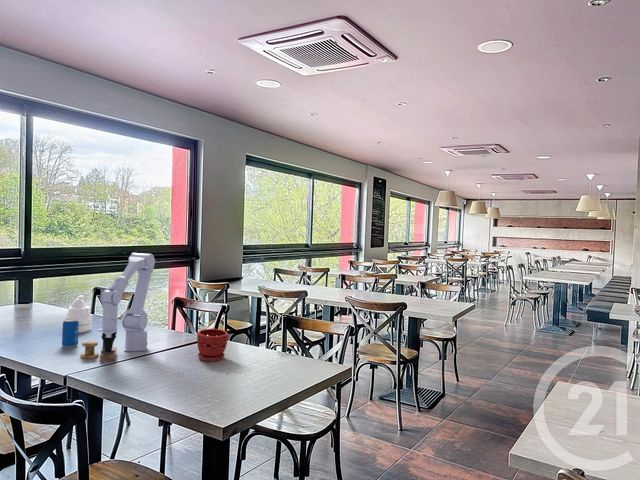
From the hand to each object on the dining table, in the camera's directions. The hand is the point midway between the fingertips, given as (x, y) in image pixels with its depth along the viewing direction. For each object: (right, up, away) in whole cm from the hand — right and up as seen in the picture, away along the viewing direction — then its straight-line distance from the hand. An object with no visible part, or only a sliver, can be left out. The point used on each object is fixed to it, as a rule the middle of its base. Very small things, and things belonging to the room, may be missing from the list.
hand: (108, 350), depth 200 cm
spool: (-9, -3, +2) cm, 10 cm away
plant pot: (+41, -6, +9) cm, 43 cm away
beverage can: (-25, -2, +16) cm, 30 cm away
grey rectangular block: (-1, -2, 0) cm, 2 cm away
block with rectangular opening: (-1, -4, +2) cm, 4 cm away
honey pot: (-37, 0, +47) cm, 60 cm away
